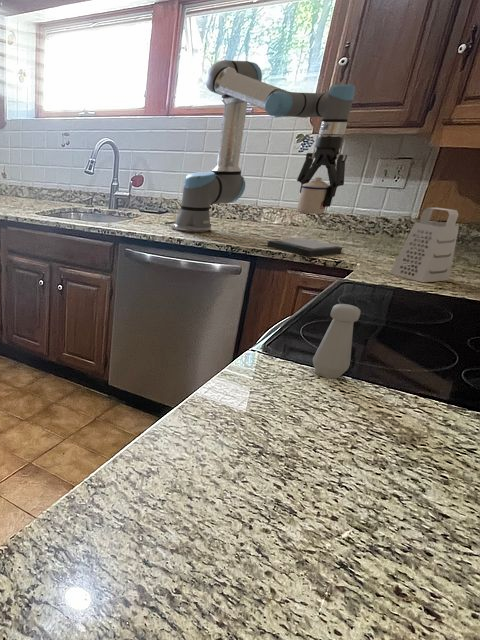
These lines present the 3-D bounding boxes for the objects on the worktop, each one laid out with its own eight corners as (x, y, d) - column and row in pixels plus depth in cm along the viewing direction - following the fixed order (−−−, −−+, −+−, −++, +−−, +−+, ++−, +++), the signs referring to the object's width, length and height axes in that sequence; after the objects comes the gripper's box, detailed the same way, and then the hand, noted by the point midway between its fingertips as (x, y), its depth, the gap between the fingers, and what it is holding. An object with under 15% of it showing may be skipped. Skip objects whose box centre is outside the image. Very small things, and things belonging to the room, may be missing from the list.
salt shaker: (333, 367, 98) (353, 300, 93) (353, 380, 93) (375, 311, 88) (303, 367, 98) (321, 300, 93) (321, 380, 93) (341, 311, 87)
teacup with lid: (325, 214, 181) (334, 179, 177) (295, 212, 185) (304, 177, 180) (323, 210, 191) (332, 176, 186) (295, 208, 195) (303, 175, 190)
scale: (267, 246, 197) (268, 239, 196) (297, 243, 203) (299, 236, 202) (308, 256, 182) (310, 249, 181) (340, 253, 188) (342, 246, 187)
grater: (422, 282, 153) (447, 212, 145) (389, 273, 162) (410, 207, 154) (448, 280, 156) (474, 211, 148) (414, 271, 165) (437, 205, 157)
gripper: (295, 135, 185) (280, 201, 194) (353, 136, 167) (334, 209, 176) (310, 135, 188) (295, 200, 197) (369, 136, 169) (350, 208, 178)
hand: (313, 204), depth 186 cm, fingers closed on teacup with lid, 9 cm apart
